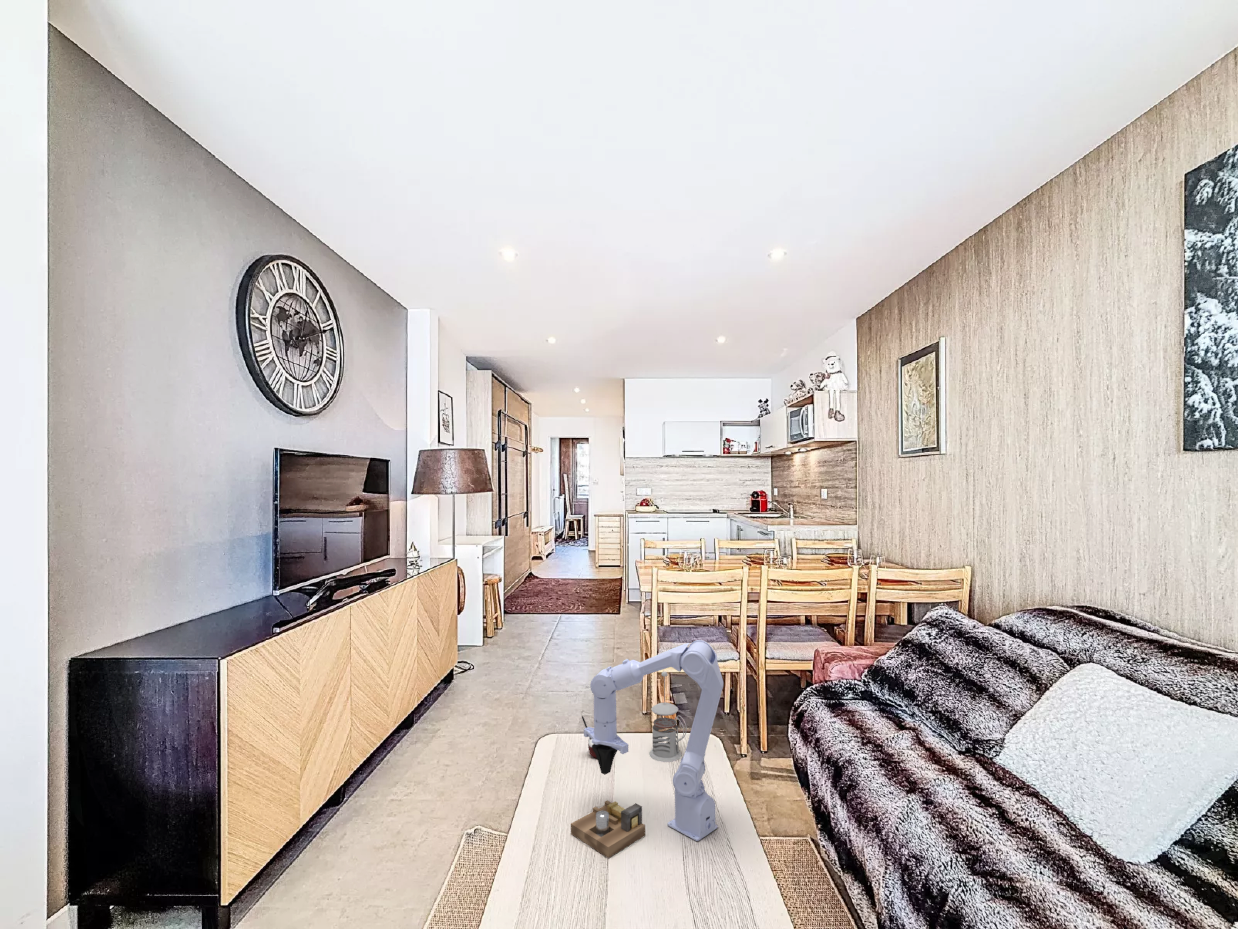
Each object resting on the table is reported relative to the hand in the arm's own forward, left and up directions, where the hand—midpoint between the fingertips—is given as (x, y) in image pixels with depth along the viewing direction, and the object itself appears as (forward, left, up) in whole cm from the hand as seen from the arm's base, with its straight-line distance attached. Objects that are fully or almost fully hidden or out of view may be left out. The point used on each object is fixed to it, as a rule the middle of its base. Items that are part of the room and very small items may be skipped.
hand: (605, 772), depth 158 cm
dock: (-7, +7, -10) cm, 14 cm away
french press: (+9, -34, -10) cm, 37 cm away
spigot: (-8, +9, -10) cm, 15 cm away
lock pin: (-9, +3, -7) cm, 12 cm away
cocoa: (+24, -19, -10) cm, 32 cm away
